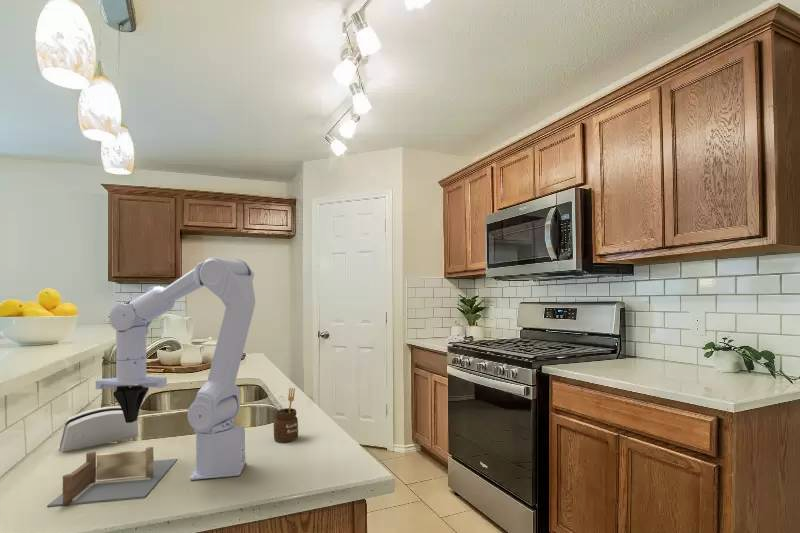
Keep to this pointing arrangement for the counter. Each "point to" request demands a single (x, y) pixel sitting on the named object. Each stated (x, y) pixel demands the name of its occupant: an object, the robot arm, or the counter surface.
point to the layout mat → (119, 487)
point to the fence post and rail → (79, 479)
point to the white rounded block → (96, 428)
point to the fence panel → (125, 464)
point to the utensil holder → (286, 422)
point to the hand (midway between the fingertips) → (131, 421)
